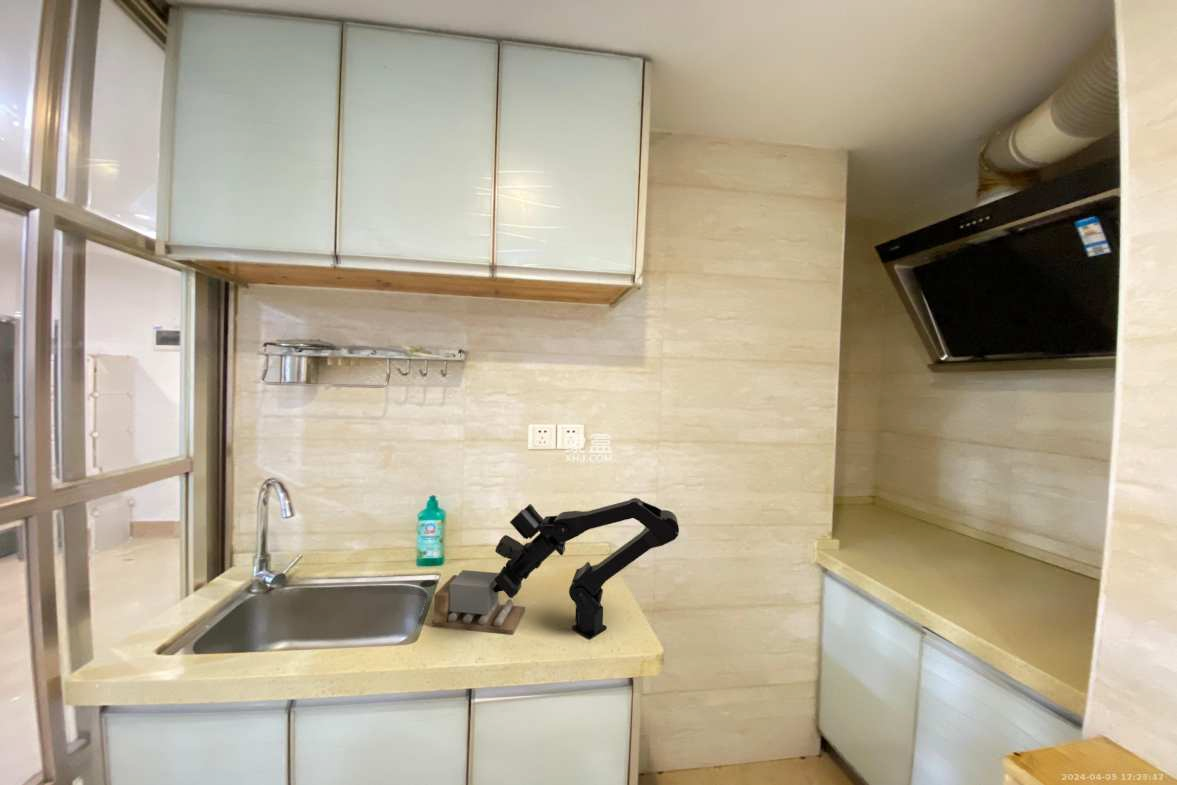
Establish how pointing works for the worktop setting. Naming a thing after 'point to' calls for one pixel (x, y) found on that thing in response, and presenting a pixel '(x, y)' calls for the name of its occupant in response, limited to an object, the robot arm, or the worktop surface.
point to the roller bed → (475, 615)
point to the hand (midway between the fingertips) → (494, 590)
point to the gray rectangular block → (473, 592)
